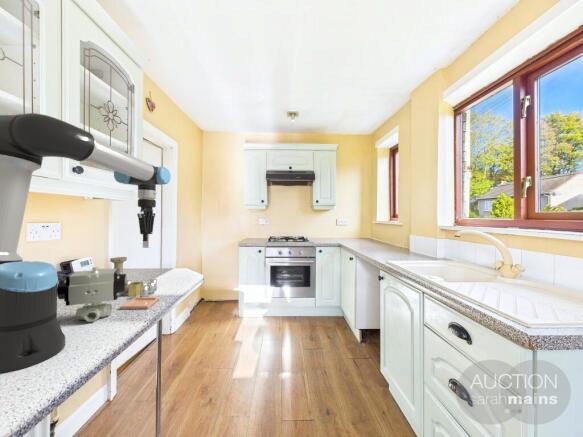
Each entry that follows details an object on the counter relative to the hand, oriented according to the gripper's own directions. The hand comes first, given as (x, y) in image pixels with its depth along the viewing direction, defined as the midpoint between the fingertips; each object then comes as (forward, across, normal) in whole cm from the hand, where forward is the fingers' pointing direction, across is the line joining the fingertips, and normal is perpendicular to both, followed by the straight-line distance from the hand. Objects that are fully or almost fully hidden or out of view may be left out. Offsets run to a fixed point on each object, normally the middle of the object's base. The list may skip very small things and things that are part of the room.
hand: (146, 247), depth 120 cm
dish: (+20, -22, -8) cm, 31 cm away
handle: (+20, -2, +12) cm, 23 cm away
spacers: (+20, -9, 0) cm, 22 cm away
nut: (+20, -9, 0) cm, 22 cm away
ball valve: (+20, -35, 0) cm, 40 cm away
